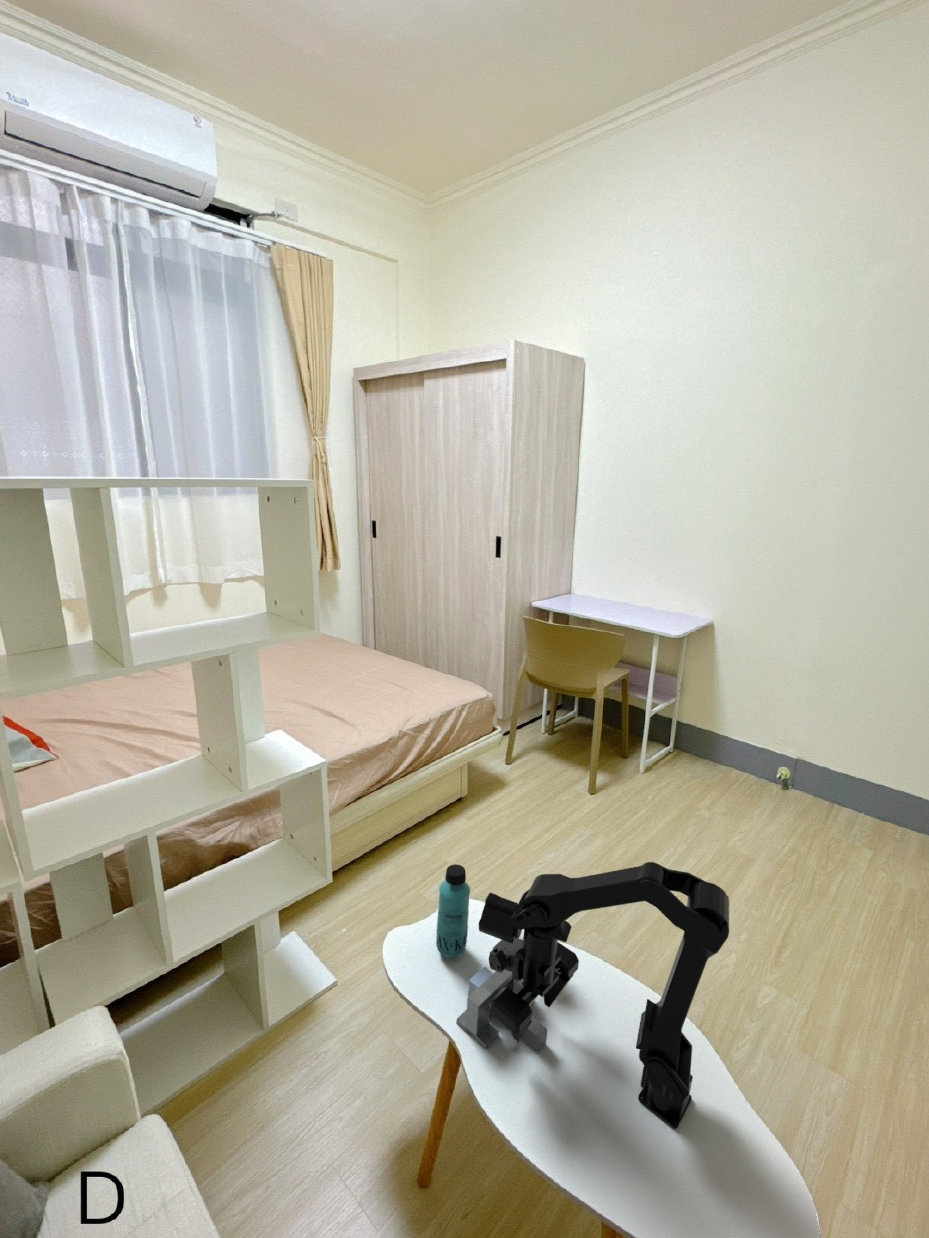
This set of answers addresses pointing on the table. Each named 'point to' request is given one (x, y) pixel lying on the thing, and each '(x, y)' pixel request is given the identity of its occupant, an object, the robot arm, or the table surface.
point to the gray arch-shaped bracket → (485, 1007)
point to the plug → (536, 1030)
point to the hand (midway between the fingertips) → (532, 1021)
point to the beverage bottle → (453, 912)
